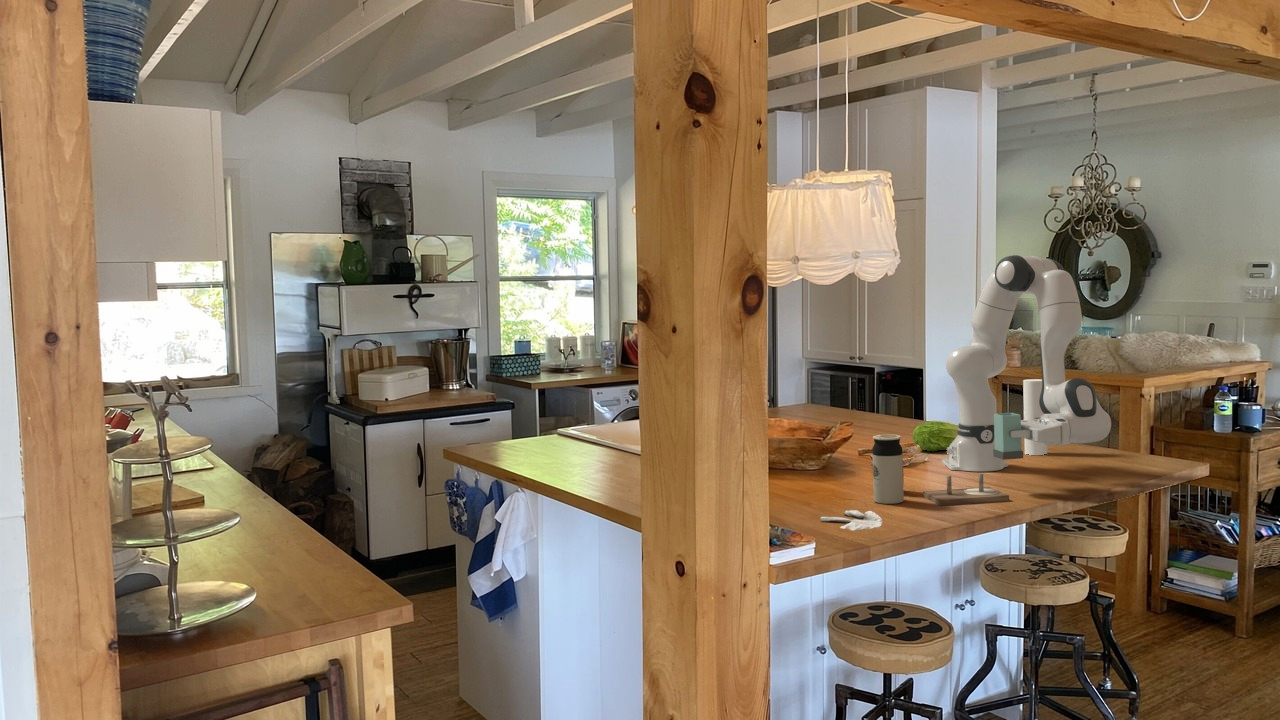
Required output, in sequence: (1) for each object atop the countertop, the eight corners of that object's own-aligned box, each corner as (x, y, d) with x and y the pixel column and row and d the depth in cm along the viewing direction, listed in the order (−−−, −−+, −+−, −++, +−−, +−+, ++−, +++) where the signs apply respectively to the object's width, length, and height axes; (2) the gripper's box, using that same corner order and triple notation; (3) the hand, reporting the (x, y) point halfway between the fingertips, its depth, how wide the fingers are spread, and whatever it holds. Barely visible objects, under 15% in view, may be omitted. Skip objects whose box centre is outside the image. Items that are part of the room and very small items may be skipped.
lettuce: (991, 435, 344) (975, 411, 354) (929, 437, 338) (914, 412, 347) (978, 460, 351) (962, 436, 361) (918, 462, 345) (903, 437, 354)
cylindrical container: (1049, 455, 328) (1048, 380, 327) (1026, 455, 330) (1025, 381, 328) (1045, 452, 335) (1043, 378, 334) (1023, 452, 337) (1021, 379, 335)
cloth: (856, 536, 237) (856, 526, 237) (791, 522, 255) (791, 512, 255) (911, 521, 249) (911, 512, 249) (846, 508, 267) (845, 500, 267)
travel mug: (901, 498, 274) (899, 433, 273) (906, 504, 266) (904, 438, 265) (872, 498, 275) (870, 434, 274) (875, 504, 267) (873, 438, 266)
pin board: (923, 496, 275) (922, 473, 274) (989, 492, 276) (988, 469, 276) (940, 505, 263) (939, 481, 262) (1009, 500, 264) (1008, 476, 264)
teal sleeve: (993, 456, 276) (992, 413, 276) (1013, 455, 277) (1012, 412, 276) (1003, 459, 271) (1002, 416, 270) (1023, 458, 271) (1022, 414, 270)
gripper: (1033, 413, 285) (987, 416, 283) (1071, 422, 264) (1021, 425, 263) (1033, 435, 285) (987, 438, 284) (1071, 445, 265) (1022, 449, 263)
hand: (1004, 432), depth 273 cm, fingers closed on teal sleeve, 5 cm apart
